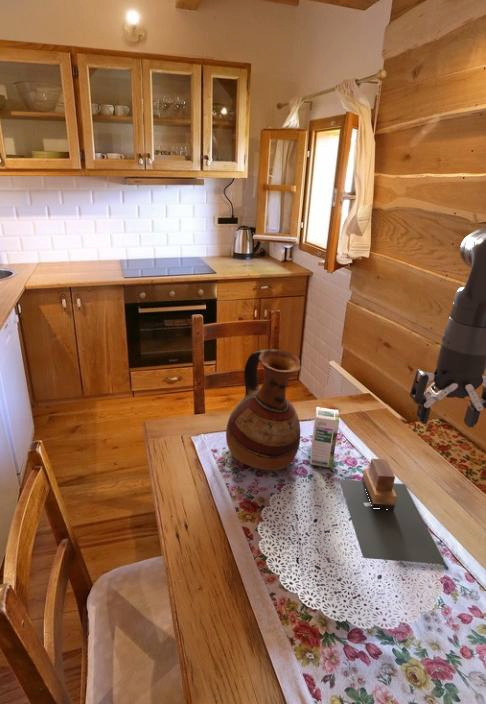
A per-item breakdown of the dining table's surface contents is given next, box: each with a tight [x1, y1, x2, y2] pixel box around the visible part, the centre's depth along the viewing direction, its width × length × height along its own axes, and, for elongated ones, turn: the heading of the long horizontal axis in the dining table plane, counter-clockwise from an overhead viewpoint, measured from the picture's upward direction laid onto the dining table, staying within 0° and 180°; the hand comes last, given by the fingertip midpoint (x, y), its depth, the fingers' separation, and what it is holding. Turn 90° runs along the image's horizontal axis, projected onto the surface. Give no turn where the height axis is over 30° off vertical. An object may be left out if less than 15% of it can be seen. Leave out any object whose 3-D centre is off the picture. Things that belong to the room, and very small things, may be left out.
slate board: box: [338, 478, 446, 565], centre depth 90 cm, size 16×22×1 cm
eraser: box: [361, 458, 397, 510], centre depth 95 cm, size 5×9×8 cm, turn 176°
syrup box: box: [309, 406, 340, 469], centre depth 106 cm, size 6×6×14 cm
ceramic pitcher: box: [225, 348, 302, 471], centre depth 105 cm, size 20×20×30 cm
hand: (445, 423), depth 77 cm, fingers open, 8 cm apart
